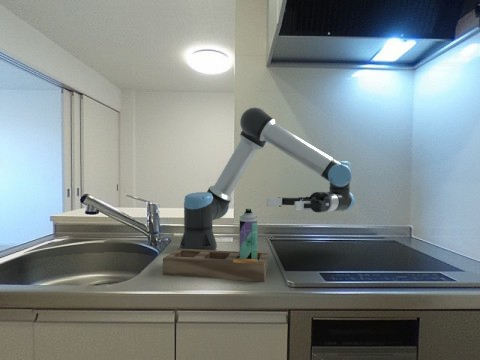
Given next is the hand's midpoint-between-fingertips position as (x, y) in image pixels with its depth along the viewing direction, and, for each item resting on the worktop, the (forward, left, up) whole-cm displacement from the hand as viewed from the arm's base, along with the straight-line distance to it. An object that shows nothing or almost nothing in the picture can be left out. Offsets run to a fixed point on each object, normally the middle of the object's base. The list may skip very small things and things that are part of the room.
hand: (280, 204), depth 91 cm
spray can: (+8, -9, -21) cm, 25 cm away
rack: (+8, -19, -21) cm, 30 cm away
